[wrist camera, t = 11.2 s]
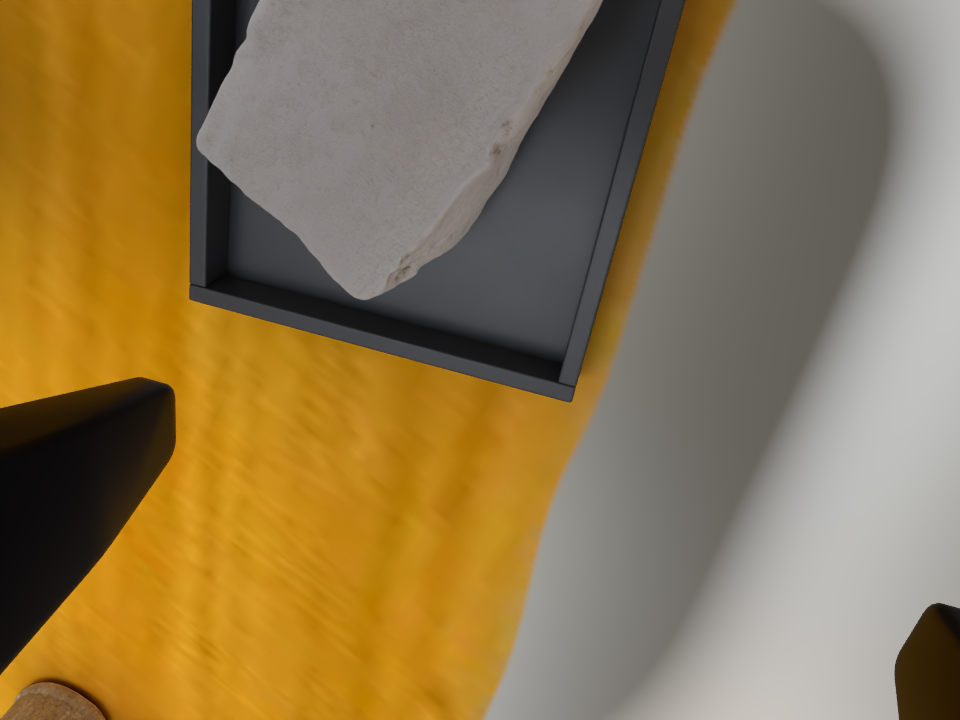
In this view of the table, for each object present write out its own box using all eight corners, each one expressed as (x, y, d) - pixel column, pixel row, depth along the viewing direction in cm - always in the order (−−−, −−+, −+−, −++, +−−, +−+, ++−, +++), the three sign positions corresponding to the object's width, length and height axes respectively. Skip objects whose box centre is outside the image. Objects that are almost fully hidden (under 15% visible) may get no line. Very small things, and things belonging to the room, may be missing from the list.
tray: (577, 377, 21) (571, 404, 20) (217, 281, 23) (188, 300, 21) (766, -293, 15) (777, -324, 13) (235, -382, 16) (194, -419, 14)
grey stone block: (498, -133, 19) (432, -334, 14) (686, 21, 18) (700, -125, 13) (255, 170, 21) (105, 105, 15) (415, 326, 20) (320, 319, 14)
